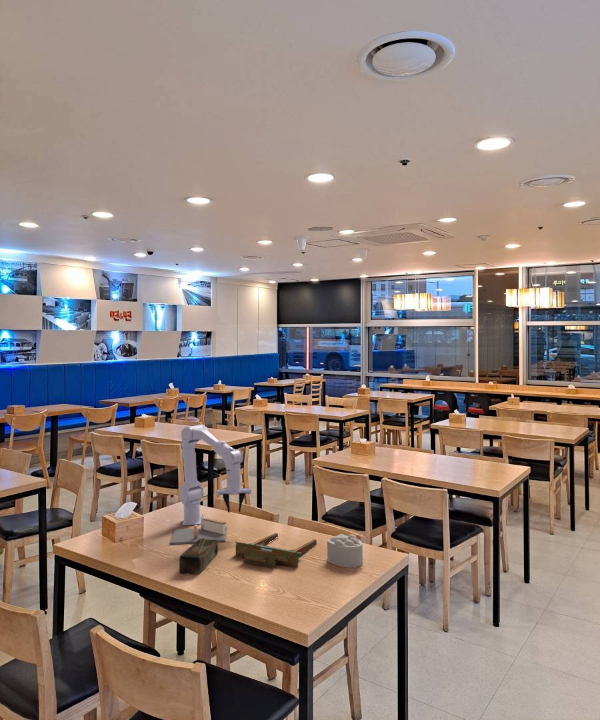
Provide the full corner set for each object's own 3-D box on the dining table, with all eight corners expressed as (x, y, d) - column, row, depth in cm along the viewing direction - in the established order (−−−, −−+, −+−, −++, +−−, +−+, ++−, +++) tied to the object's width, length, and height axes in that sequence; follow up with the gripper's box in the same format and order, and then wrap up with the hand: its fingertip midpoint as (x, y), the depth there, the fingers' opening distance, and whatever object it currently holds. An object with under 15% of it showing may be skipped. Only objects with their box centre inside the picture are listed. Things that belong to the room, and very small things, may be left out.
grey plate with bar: (175, 531, 232) (174, 515, 232) (227, 528, 234) (226, 513, 234) (169, 544, 217) (169, 527, 216) (225, 541, 219) (225, 525, 218)
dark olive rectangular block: (219, 554, 205) (218, 537, 205) (200, 576, 187) (199, 557, 186) (199, 553, 207) (198, 536, 207) (178, 574, 188) (177, 555, 188)
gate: (200, 529, 231) (199, 517, 231) (203, 527, 233) (202, 516, 233) (223, 534, 224) (223, 522, 224) (226, 533, 225) (226, 521, 225)
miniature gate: (325, 537, 212) (288, 558, 186) (325, 551, 212) (288, 574, 186) (266, 527, 225) (224, 546, 198) (266, 541, 225) (223, 561, 198)
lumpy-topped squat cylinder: (342, 552, 205) (342, 529, 205) (369, 561, 196) (369, 538, 196) (323, 560, 198) (323, 536, 198) (351, 570, 188) (350, 545, 188)
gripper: (215, 482, 223) (216, 515, 223) (251, 480, 224) (251, 513, 224) (216, 478, 230) (217, 510, 230) (251, 476, 231) (251, 508, 231)
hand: (234, 511), depth 228 cm, fingers open, 4 cm apart
